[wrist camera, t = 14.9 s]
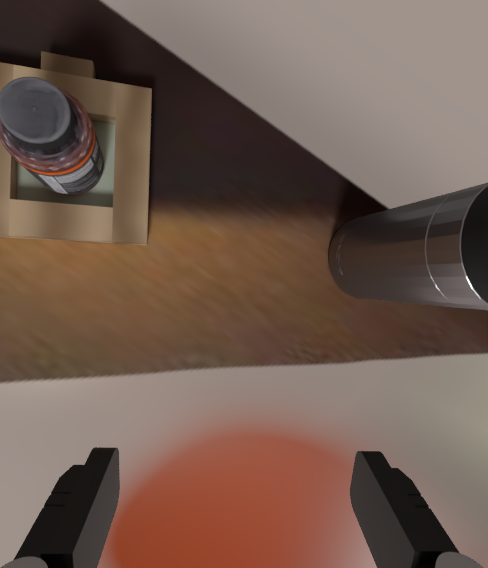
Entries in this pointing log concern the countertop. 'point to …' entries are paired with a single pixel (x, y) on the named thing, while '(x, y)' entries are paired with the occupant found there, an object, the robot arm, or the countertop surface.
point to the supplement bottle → (50, 135)
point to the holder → (116, 155)
